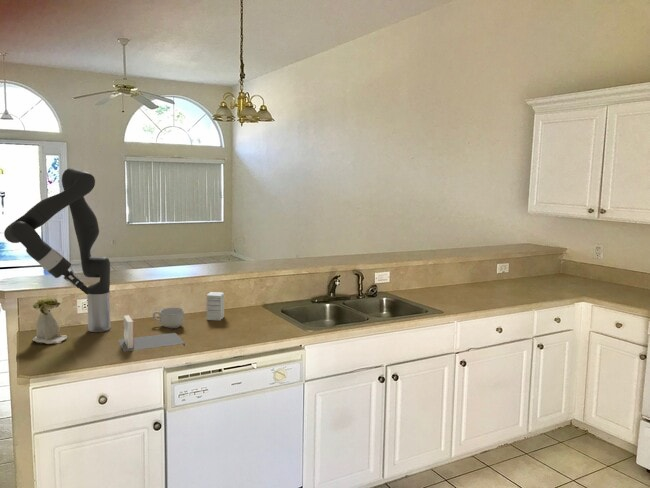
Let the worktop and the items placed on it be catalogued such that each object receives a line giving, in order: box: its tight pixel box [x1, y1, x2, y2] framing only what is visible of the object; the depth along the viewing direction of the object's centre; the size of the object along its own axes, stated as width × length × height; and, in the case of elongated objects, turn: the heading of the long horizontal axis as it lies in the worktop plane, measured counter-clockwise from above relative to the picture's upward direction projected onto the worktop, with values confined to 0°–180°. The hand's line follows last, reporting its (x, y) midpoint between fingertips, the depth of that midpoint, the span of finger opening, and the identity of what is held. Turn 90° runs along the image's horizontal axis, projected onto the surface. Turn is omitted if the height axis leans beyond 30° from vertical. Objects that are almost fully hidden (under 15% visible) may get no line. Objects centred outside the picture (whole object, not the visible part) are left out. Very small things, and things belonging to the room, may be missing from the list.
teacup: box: [152, 306, 185, 330], centre depth 238 cm, size 14×11×8 cm
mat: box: [117, 332, 185, 353], centre depth 214 cm, size 16×24×1 cm, turn 120°
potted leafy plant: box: [31, 297, 68, 345], centre depth 212 cm, size 12×13×18 cm
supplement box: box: [206, 291, 225, 321], centre depth 254 cm, size 7×7×13 cm
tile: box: [123, 314, 135, 348], centre depth 209 cm, size 10×2×11 cm, turn 30°
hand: (86, 290), depth 200 cm, fingers open, 8 cm apart
